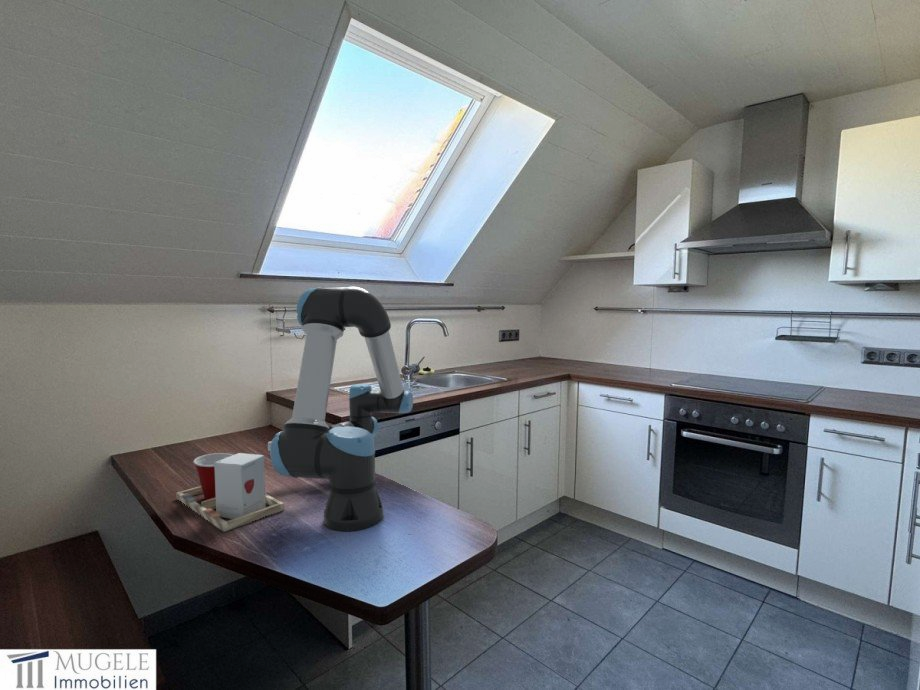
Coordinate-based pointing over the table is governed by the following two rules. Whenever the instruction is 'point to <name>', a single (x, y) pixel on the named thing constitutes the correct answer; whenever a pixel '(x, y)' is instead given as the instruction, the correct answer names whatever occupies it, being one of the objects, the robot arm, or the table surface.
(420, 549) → the table surface
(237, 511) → the supplement box
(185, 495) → the wooden frame
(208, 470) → the plastic cup
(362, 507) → the robot arm
